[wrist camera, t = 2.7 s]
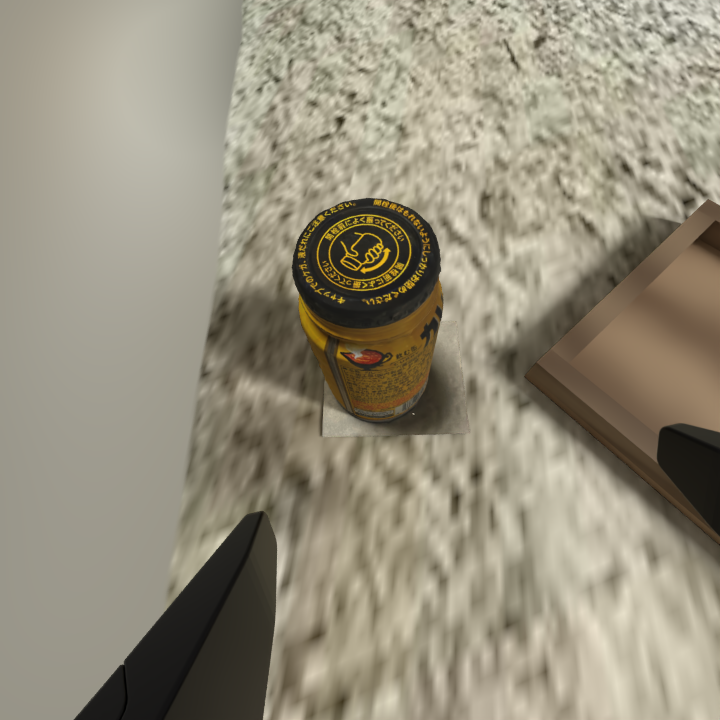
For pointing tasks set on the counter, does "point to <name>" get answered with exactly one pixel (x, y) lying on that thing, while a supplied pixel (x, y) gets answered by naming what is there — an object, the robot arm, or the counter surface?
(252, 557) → the robot arm
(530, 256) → the counter surface
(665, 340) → the dock holder
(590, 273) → the counter surface
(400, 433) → the condiment
